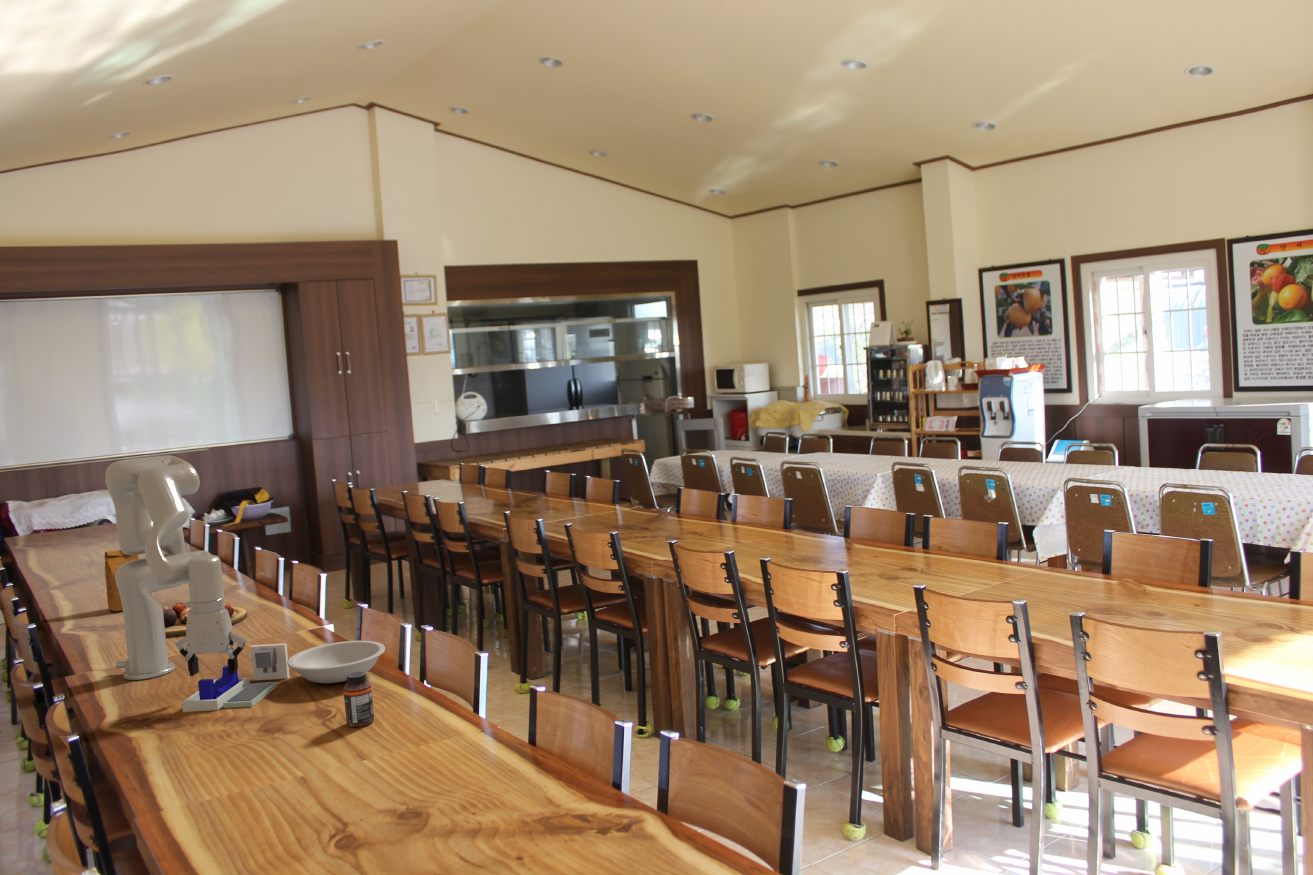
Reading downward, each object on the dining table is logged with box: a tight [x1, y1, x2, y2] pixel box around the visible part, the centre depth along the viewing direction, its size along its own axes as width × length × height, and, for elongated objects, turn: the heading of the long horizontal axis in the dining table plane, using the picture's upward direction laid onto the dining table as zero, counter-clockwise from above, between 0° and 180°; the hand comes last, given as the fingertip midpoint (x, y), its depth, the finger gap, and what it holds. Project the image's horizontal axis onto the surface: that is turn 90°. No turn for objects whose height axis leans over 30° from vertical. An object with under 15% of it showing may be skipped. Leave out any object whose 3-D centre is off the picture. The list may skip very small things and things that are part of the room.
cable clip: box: [197, 664, 239, 700], centre depth 235 cm, size 12×4×6 cm, turn 174°
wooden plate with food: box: [161, 602, 248, 638], centre depth 314 cm, size 32×32×8 cm
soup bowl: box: [287, 640, 386, 684], centre depth 245 cm, size 24×24×7 cm
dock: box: [181, 677, 251, 713], centre depth 235 cm, size 9×17×2 cm, turn 178°
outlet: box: [250, 643, 291, 681], centre depth 247 cm, size 9×4×9 cm, turn 88°
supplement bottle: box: [342, 671, 375, 728], centre depth 211 cm, size 6×6×11 cm
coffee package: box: [103, 549, 140, 612], centre depth 343 cm, size 10×12×22 cm
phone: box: [222, 681, 278, 709], centre depth 235 cm, size 7×14×1 cm, turn 178°
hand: (213, 673), depth 235 cm, fingers open, 9 cm apart
